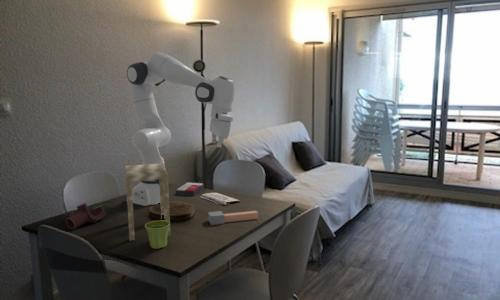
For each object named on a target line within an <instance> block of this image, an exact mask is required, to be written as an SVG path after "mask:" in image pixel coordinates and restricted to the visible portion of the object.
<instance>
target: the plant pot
mask: <svg viewBox="0 0 500 300" xmlns="http://www.w3.org/2000/svg"><path fill="white" fill-rule="evenodd" d="M169 225H170V226H171V221H170V222H168V221H165V220H161V219H160V220H152V221H148V222H146V223H145V224H144V228H145V229H146V232H147V235H148V241H149V246H150V247H151V248H152V249H156V250H157V249H161V248H165V247H166V246H167V245H168V237H169V236H168V228H169ZM167 236H168V237H167Z"/></svg>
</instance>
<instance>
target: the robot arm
mask: <svg viewBox="0 0 500 300" xmlns="http://www.w3.org/2000/svg"><path fill="white" fill-rule="evenodd" d="M126 77H127V80H128V82H129V83H130V95H131V101H132V106H133V110H134V113H135V117H136V119H137V120H138V121H139V122H140V123H141V125H143V128H141V129H139V130H137V131H136V132H135V133H134V134H132V138H131V142H132V145H133V147H134V148H135V149H136V150H137V151H138V153H139V155H140V158H141V161H142V164H141V165H145V164H161V163H163V164H164V166H165V167H166V165H165V159H164V157H162V156H161V153H160V151H159V148H162V147H164V146H166V145H167V144H168V143H169V142H171V139H172V133H171V130H170V129H169V128H168V127H166V125H165V123H163V121H162V119H161V117H160V115H159V112H158V108H157V105H156V104H157V103H156V99H155V96H154V92H153V88H154V87H155V86H156V87H159V86H160V85H161V84H162V83H165V82H166V81H167V82H168V83H171V84H175V85H180V86H190V87H193V88H195V91H194V95H195V99H196V100H197V101H198V102H199V103H201V104H208V105H212V106H211V111H210V118H211V119H210V124H209V132H211V143H212V144H216V147H217V148H222V145H223V142H224V139H225V140H227V139H228V137H229V135H230V131H231V126H232V125H231V124H232V122H233V120H234V116H233V114H232V111H233V106H232V105H233V101H234V99H235V91H236V88H235V87H236V85H235V81H234V80H233V79H232V78H229V77H226V76H222V75H221V76H217V77H216V78H214V79H211V80H210V79H208V78H207V77H204V76H203V75H201V74H199V73H198V72H196V71H194V70H193V69H192V68H190V67H189V66H187V65H185V64H184V63H182V62H181V61H180V60H178V59H176V58H174V56H171V55H169V54H166V53H165V52H164V53H163V52H159V51H157V52H154V53H152V54H151V56H150V57H149V60H148V61H145V62H144V61H140V62H135V63H132V64H130V65H129V66H128V67H127V71H126ZM217 139H218V140H217ZM132 199H133V204H136V205H140V206H150V205H153V206H154V205H159V204H158V203H160V183H159V179H155V180H142V181H139V183H137V185H135V186H134V187H132ZM126 202H127V199H126Z"/></svg>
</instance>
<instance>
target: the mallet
mask: <svg viewBox="0 0 500 300" xmlns="http://www.w3.org/2000/svg"><path fill="white" fill-rule="evenodd" d="M258 219H259V211H257V210H250V211H241V212H231V213H223V211H222V210H217V211H208V223H210V225H211V226H215V225H223V224H224V225H225V223H231V222H241V221H250V220H258Z"/></svg>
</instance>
